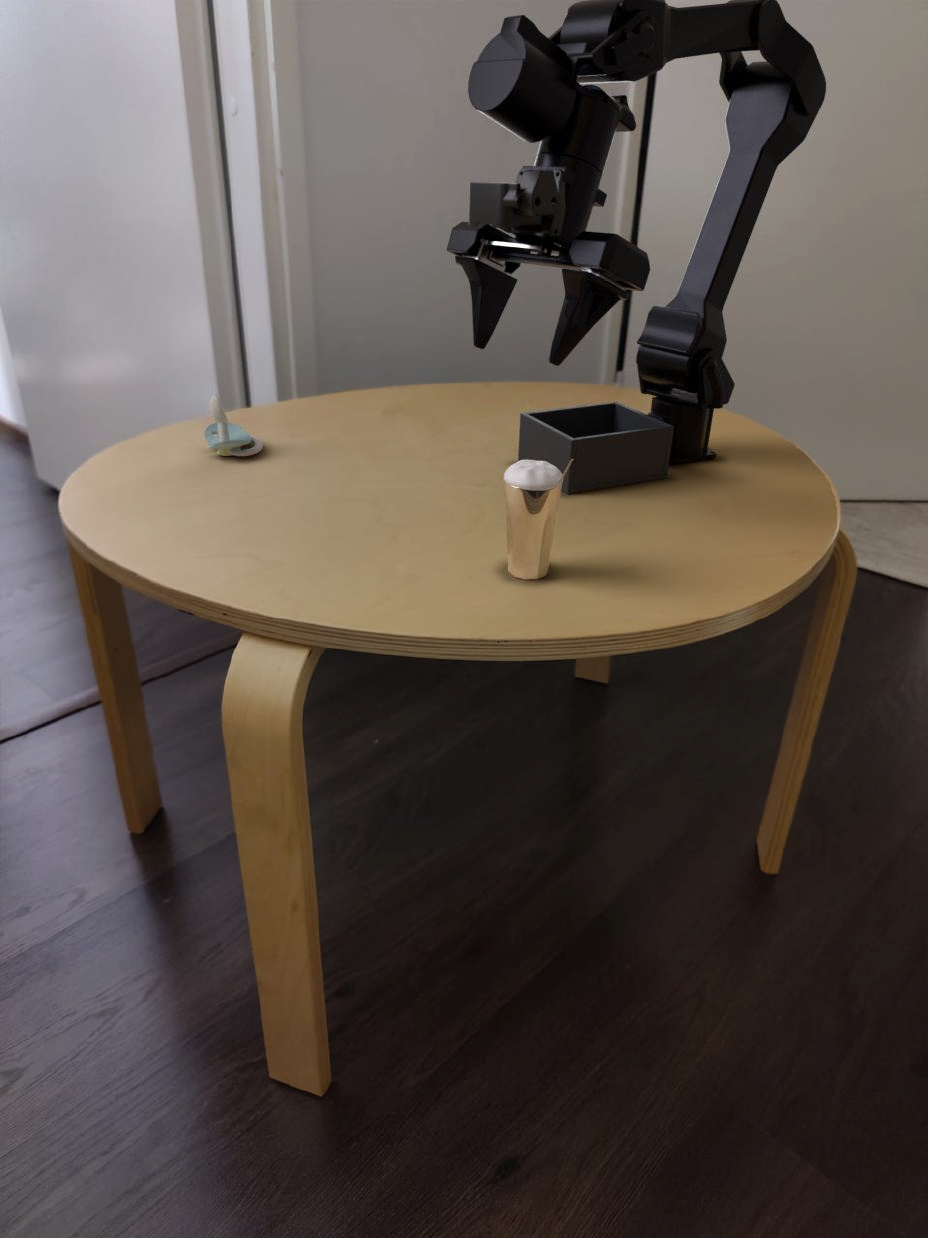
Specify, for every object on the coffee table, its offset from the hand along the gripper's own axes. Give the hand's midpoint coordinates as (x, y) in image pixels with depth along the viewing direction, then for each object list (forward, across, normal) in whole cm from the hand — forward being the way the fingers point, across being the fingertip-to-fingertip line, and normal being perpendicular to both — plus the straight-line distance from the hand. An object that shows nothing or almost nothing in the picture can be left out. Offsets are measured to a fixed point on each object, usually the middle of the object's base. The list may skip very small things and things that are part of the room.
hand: (514, 355), depth 75 cm
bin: (+8, -2, +18) cm, 20 cm away
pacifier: (+17, -32, -6) cm, 36 cm away
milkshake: (+17, +11, -2) cm, 20 cm away
